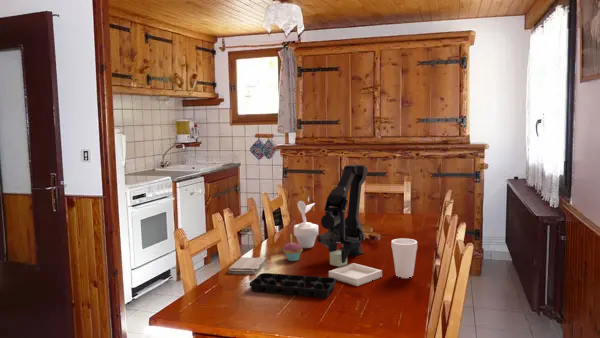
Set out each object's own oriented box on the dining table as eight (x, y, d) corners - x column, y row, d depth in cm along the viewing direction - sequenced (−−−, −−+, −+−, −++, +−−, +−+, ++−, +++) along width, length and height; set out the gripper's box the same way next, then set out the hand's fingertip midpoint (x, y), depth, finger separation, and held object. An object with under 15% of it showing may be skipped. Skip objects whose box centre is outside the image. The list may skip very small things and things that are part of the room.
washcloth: (227, 275, 194) (227, 267, 194) (240, 262, 212) (239, 255, 212) (257, 276, 192) (256, 268, 192) (267, 262, 210) (267, 255, 210)
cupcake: (300, 262, 207) (299, 234, 206) (280, 262, 209) (279, 233, 208) (304, 257, 215) (303, 229, 214) (285, 256, 217) (284, 229, 216)
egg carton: (335, 300, 165) (334, 289, 164) (245, 299, 168) (245, 288, 167) (336, 282, 182) (336, 272, 182) (255, 282, 185) (255, 272, 185)
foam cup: (418, 272, 190) (418, 239, 189) (416, 280, 181) (415, 245, 180) (393, 270, 193) (393, 237, 192) (389, 278, 184) (389, 243, 183)
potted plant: (305, 251, 225) (304, 196, 222) (289, 246, 233) (287, 193, 231) (325, 246, 233) (324, 192, 230) (309, 241, 242) (307, 190, 239)
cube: (338, 261, 207) (338, 249, 207) (347, 264, 203) (347, 252, 203) (329, 264, 204) (329, 252, 203) (338, 266, 200) (338, 254, 200)
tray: (353, 269, 196) (353, 263, 196) (382, 276, 186) (382, 270, 186) (328, 277, 187) (328, 271, 187) (357, 286, 177) (357, 279, 176)
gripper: (307, 224, 203) (308, 261, 205) (341, 230, 190) (342, 270, 191) (326, 219, 211) (327, 255, 212) (360, 226, 197) (361, 264, 199)
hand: (338, 261), depth 204 cm, fingers closed on cube, 5 cm apart
